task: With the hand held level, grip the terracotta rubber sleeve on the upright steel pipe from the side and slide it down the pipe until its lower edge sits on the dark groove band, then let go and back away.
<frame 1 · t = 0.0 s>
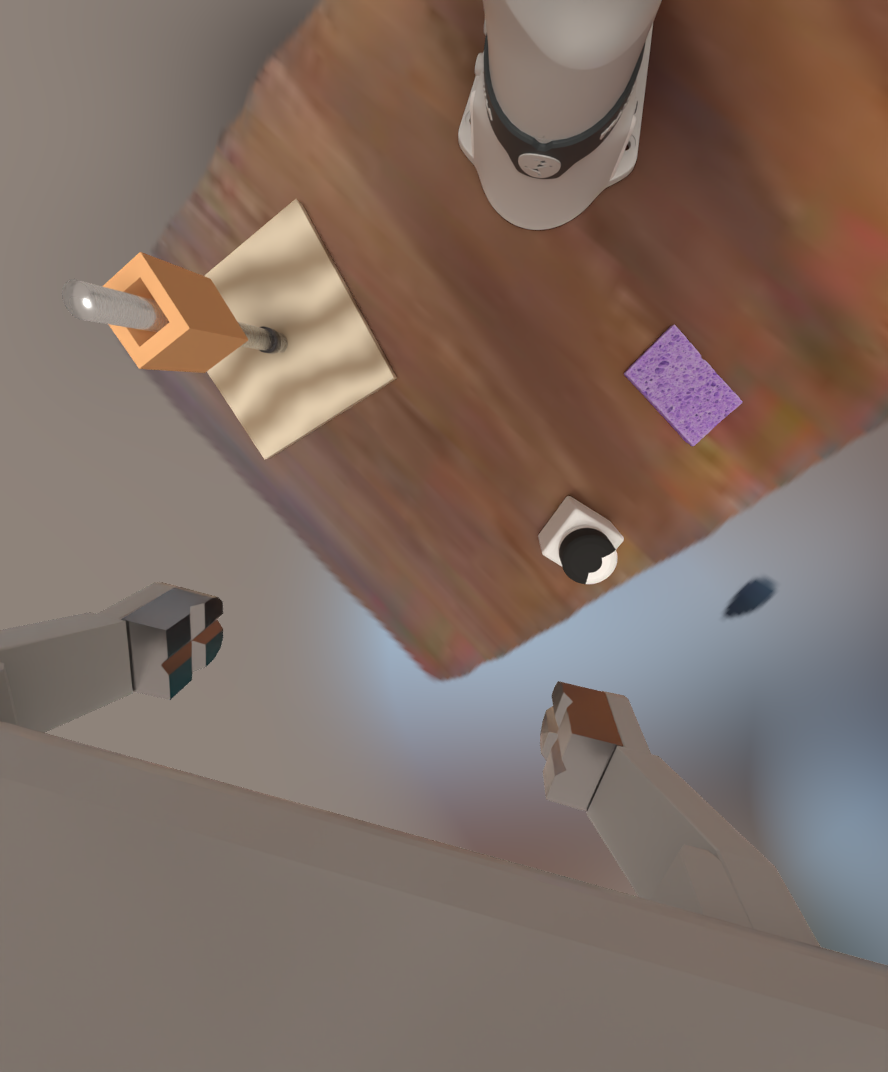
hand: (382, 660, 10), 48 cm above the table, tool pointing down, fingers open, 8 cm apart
sleeve: (177, 321, 36), point 19 cm above the table, slide at 10.0 cm
pipe stand: (284, 344, 54), on the table
sponges: (678, 388, 50), on the table
steel pipe: (209, 327, 40), on the pipe stand, point 15 cm above the table
medicine bottle: (573, 528, 57), on the table
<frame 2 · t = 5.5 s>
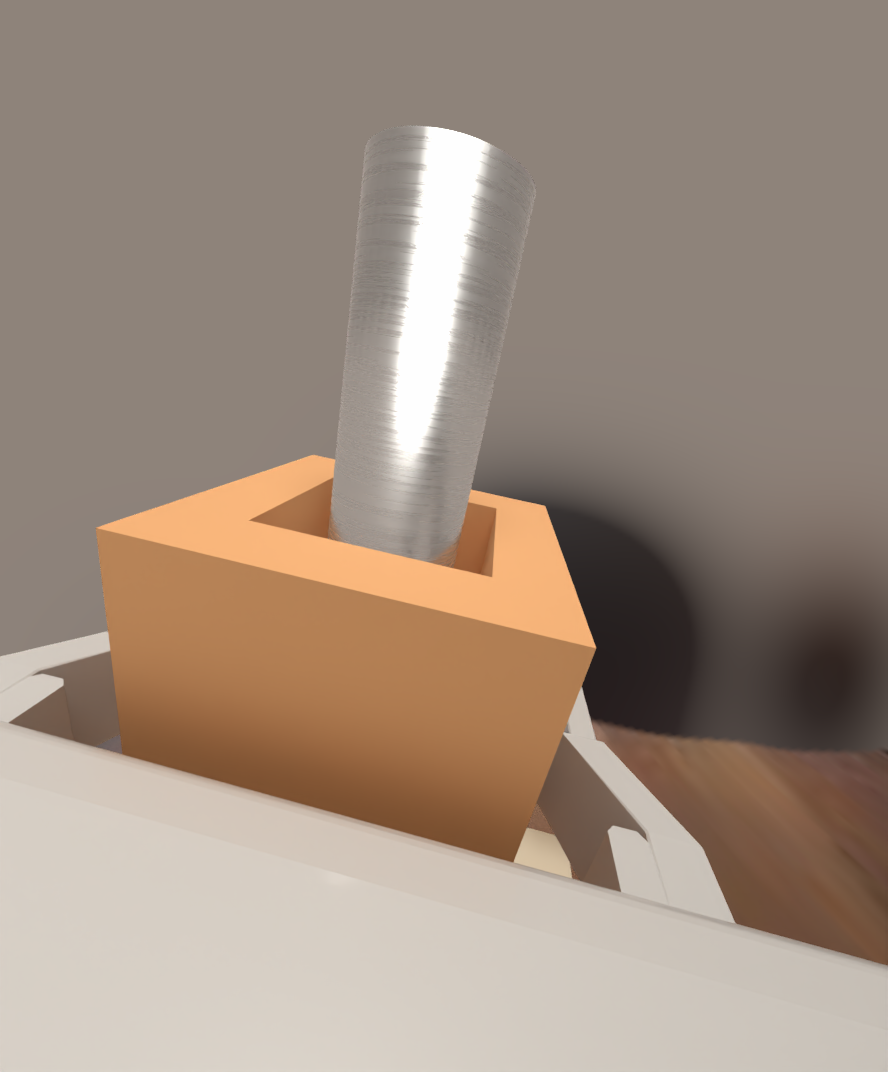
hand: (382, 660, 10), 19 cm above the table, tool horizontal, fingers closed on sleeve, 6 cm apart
sleeve: (371, 685, 9), point 19 cm above the table, slide at 10.0 cm, touching gripper
steel pipe: (350, 818, 10), on the pipe stand, point 15 cm above the table
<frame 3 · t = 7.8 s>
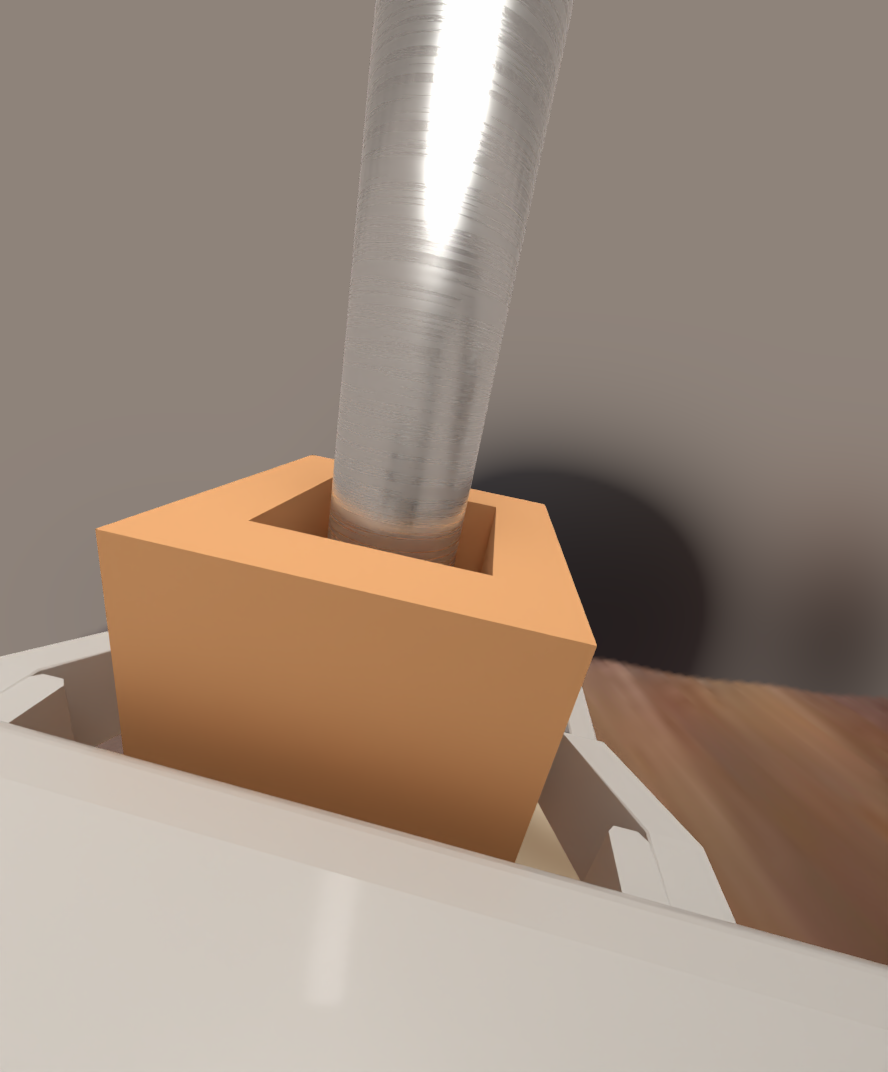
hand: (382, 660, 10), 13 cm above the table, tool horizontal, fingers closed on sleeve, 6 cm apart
sleeve: (371, 685, 9), point 13 cm above the table, slide at 3.7 cm, touching gripper
pipe stand: (325, 993, 13), on the table
steel pipe: (384, 603, 8), on the pipe stand, point 15 cm above the table
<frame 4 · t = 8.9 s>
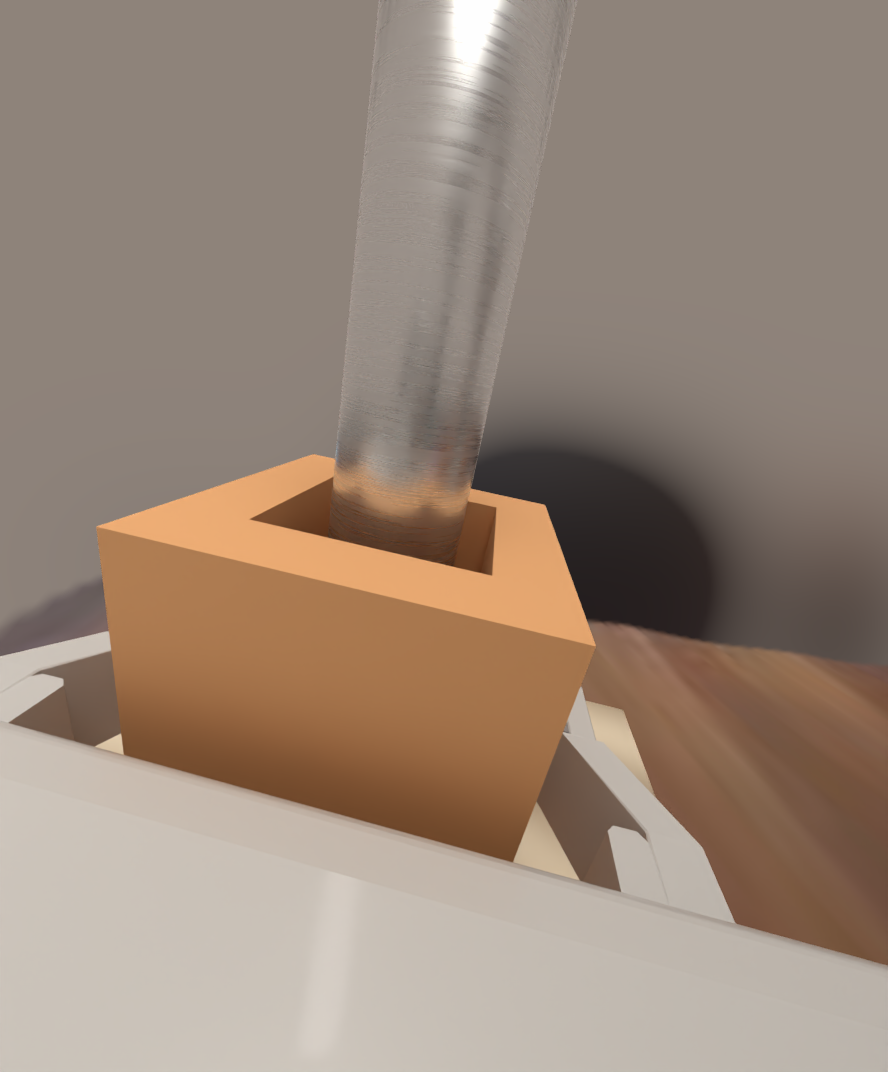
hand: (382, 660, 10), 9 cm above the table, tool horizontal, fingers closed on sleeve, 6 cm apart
sleeve: (371, 684, 9), point 9 cm above the table, slide at 0.0 cm, touching gripper
pipe stand: (333, 927, 12), on the table
steel pipe: (413, 417, 7), on the pipe stand, point 15 cm above the table
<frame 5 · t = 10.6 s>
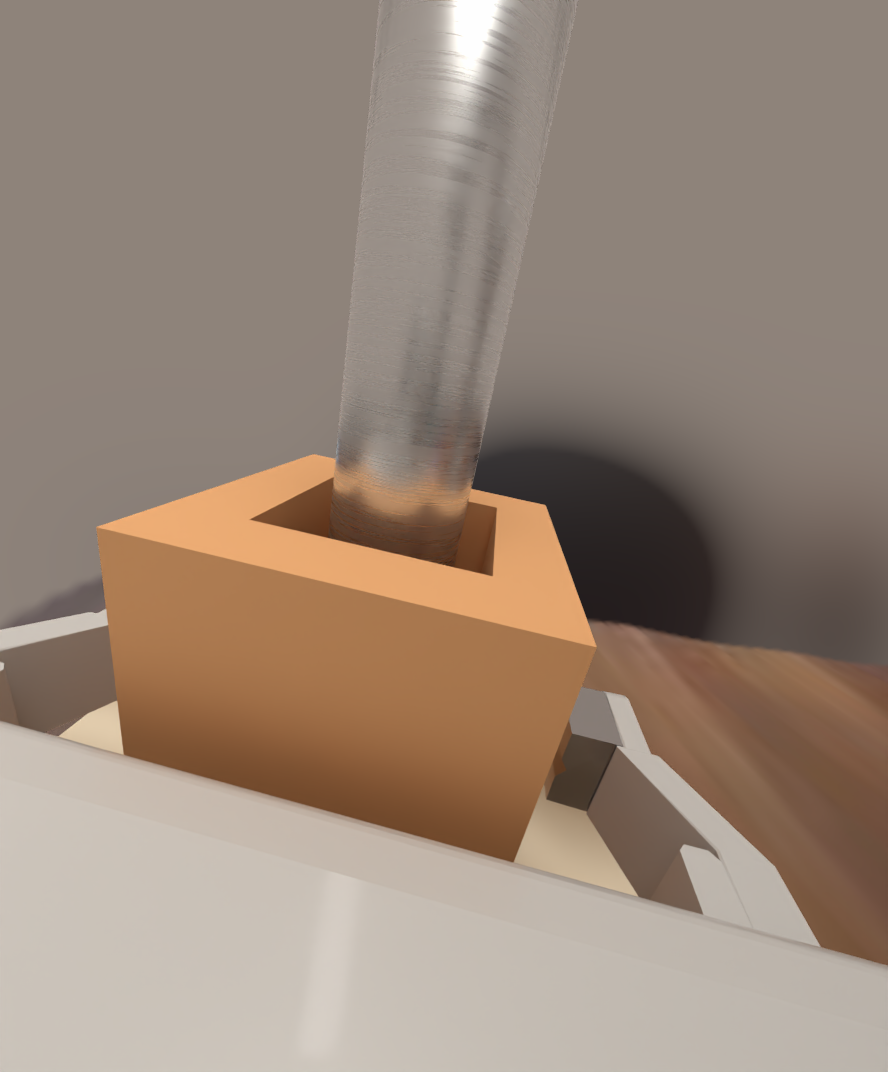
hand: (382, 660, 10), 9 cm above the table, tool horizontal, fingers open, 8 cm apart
sleeve: (371, 685, 9), point 9 cm above the table, slide at 0.0 cm
pipe stand: (333, 926, 12), on the table
steel pipe: (414, 414, 7), on the pipe stand, point 15 cm above the table
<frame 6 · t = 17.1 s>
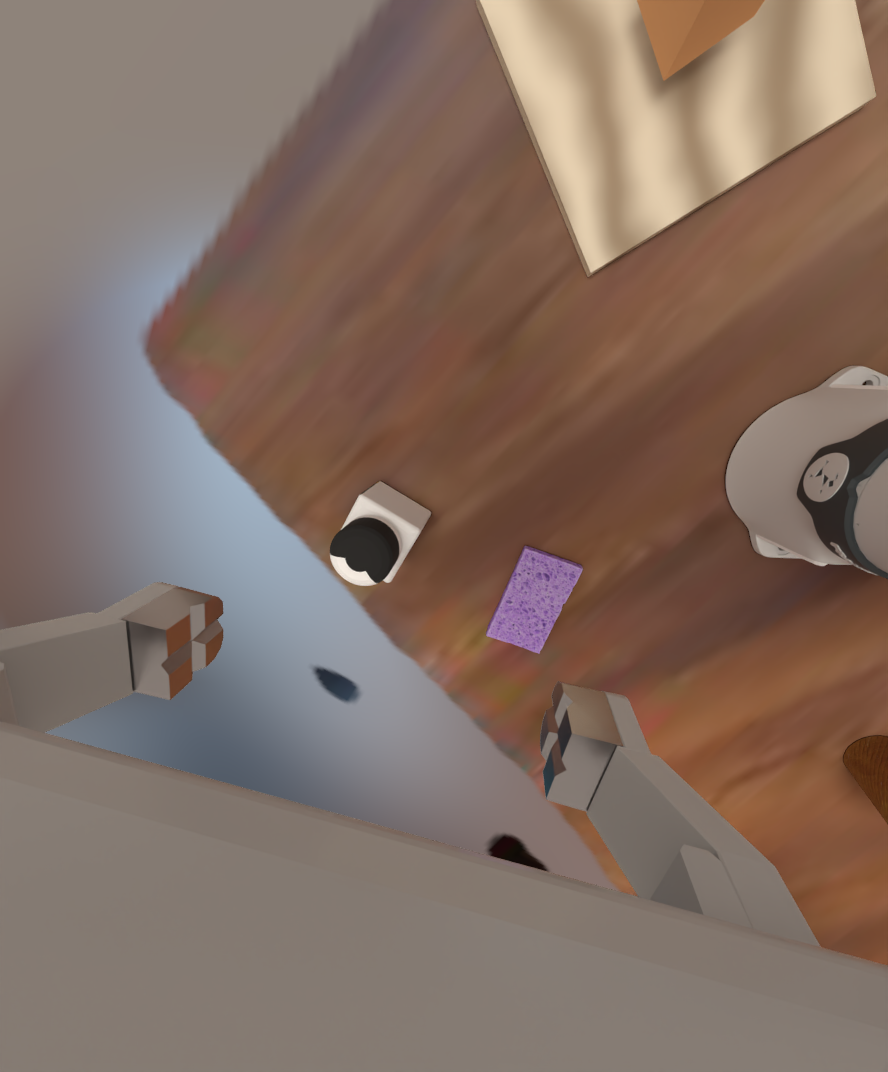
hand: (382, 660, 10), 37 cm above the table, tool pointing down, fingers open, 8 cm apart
pipe stand: (665, 56, 32), on the table
sponges: (531, 596, 50), on the table
disposable coffee cup: (871, 754, 50), on the table
medicine bottle: (392, 520, 49), on the table
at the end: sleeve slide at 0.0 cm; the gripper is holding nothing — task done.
